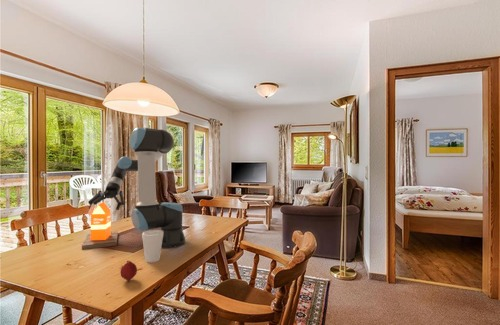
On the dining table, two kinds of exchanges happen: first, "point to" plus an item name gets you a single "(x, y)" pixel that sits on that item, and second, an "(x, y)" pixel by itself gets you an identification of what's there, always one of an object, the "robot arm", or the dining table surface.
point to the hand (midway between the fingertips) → (101, 214)
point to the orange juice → (101, 222)
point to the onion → (128, 270)
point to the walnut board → (100, 241)
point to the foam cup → (152, 244)
